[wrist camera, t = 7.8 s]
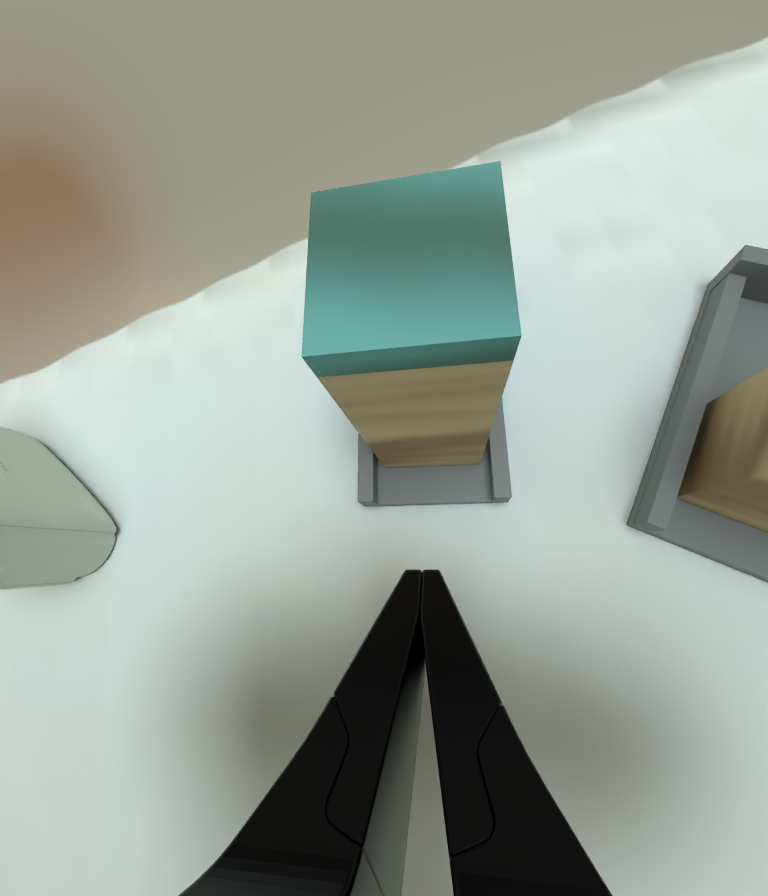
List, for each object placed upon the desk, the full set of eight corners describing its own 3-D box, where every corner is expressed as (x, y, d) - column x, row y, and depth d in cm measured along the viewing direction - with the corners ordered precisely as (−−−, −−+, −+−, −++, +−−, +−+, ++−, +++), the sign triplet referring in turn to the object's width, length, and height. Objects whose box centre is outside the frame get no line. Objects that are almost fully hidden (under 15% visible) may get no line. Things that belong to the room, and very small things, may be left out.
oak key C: (480, 464, 18) (521, 335, 7) (385, 468, 19) (301, 356, 8) (473, 376, 19) (500, 161, 9) (384, 384, 20) (311, 192, 9)
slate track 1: (507, 502, 18) (516, 494, 15) (364, 506, 19) (352, 499, 16) (485, 269, 21) (489, 234, 19) (366, 284, 22) (356, 252, 20)
